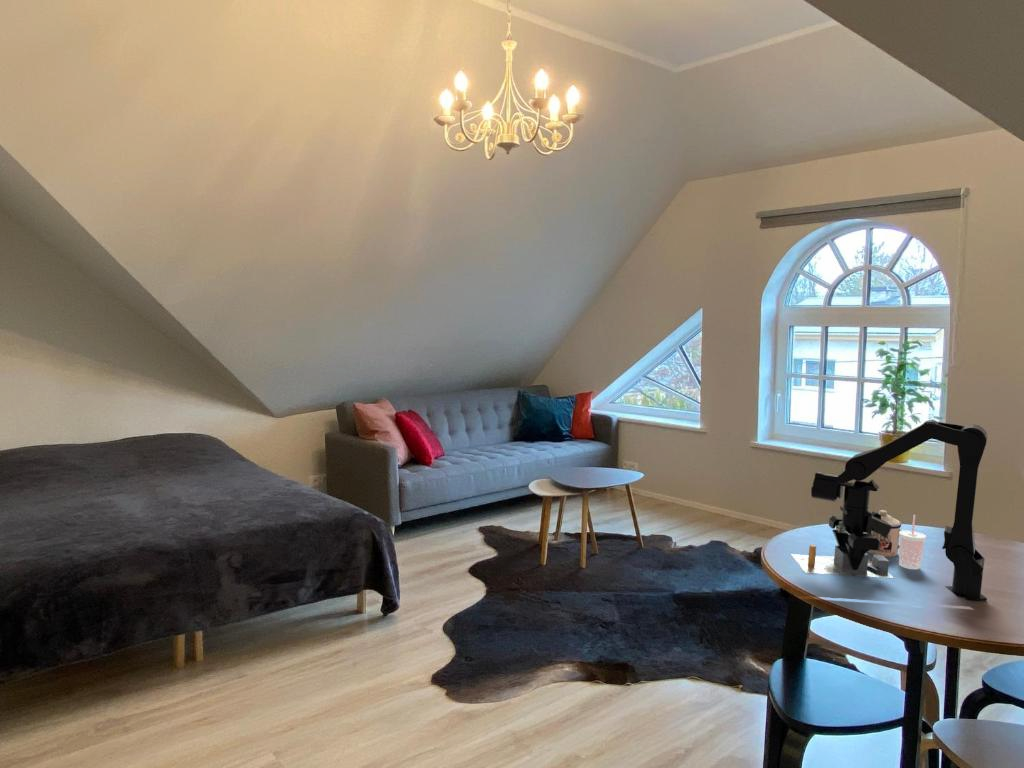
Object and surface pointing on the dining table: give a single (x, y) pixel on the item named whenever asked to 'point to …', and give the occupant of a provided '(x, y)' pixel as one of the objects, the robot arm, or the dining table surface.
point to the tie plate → (827, 566)
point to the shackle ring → (848, 560)
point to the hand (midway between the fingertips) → (850, 565)
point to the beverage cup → (911, 548)
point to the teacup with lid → (891, 541)
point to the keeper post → (812, 555)
